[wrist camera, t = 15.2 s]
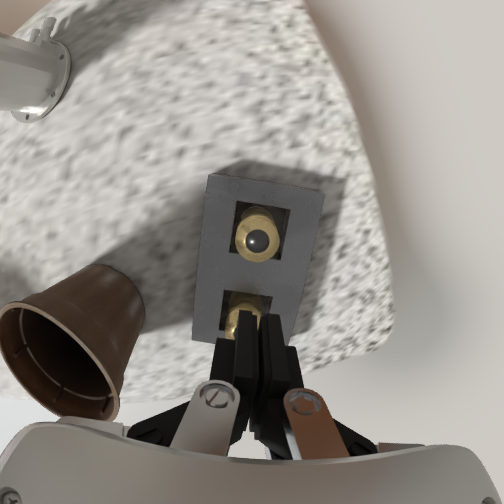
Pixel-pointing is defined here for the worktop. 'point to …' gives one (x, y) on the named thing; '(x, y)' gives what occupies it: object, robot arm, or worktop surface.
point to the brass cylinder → (257, 235)
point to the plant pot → (74, 342)
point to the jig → (247, 272)
